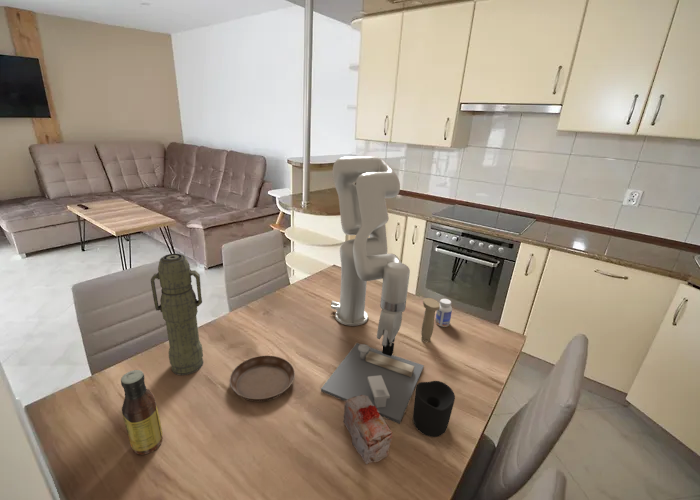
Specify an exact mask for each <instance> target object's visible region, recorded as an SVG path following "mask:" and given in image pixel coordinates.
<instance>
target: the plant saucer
mask: <svg viewBox="0 0 700 500" xmlns="http://www.w3.org/2000/svg"><path fill="white" fill-rule="evenodd" d="M295 374H296V372H295V369H294V366H293V365H292V363H291V362H289V361H288V360H287V359H284V358H282V357H279V356H275V355H259V356H255V357H251V358H248V359H246V360H244V361H243V362H241V363H239V364H238V365H237V366H236V367H235V368H234V369H233V370H232V372H231V374H230V377H229V385H230V388H231V389H232V391H233V392H234V393H235V394H237V396H239V397H240V398H242V399H245V400H247V401H251V402H257V403H259V402H260V403H261V402H267V401H272V400H273V399H276V398H277V397H279V396H281V395H283V393H285V392H286V391H287V390H288V389H289V388H290V386H291V385H292V383H293V382H294V380H295V376H296V375H295Z"/></svg>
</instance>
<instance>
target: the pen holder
mask: <svg viewBox="0 0 700 500" xmlns="http://www.w3.org/2000/svg"><path fill="white" fill-rule="evenodd" d="M414 393H415V394H414V401H413V411H412V423H413V425H414V427H415V428H416V429H417V431H418V432H419V433H421V434H422V435H425V436H427V437H430V438H437V437H441V436H443V435H444V434H445V433H446V432H447V429H448V425H449V423H450V419H451V415H452V411H453V407H454V404H455V400H456V395H455V392H454V390H453V389H452V388H451V387H450V386H449V385H448V384H447V383H445V382H442V381H440V380H433V381H421V382H417V384H416V387H415V390H414Z"/></svg>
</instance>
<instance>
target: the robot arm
mask: <svg viewBox="0 0 700 500" xmlns="http://www.w3.org/2000/svg"><path fill="white" fill-rule="evenodd" d="M332 180H333V184H334V188H335V190H336V193H337V196H338V204H339V215H340V224H341V230H342V232H343V234H345V235H347V236H355V237H354V238H353V239H352V238H351V239H348V240H345V241H344V242H342V243H341V245H340V247H339V256H340V257H339V258H340V266H341V267H340V268H341V269H340V270H341V271H340V272H341V274H340V292H339V293H340V297H339V302H338V301H336V300H331V303H330V305H331V306H330V309H332V310H336V312H335V313H334V314H335V315H334V316H335V320H336V321H337V322H339V323H340V324H342V325H345V326H350V327H356V326H361V325H364V324H365V323H367V321H368V320H369V314H368V312H367V311H366V310H365V307H366V295H367V282H372V281H377V280H378V281H379V280H382V285H381V294H380V295H381V296H380V304H379V305H380V309H381V311H380V314H379V320H378V325H377V332H376V338H377V340H380V339H381V338H382V342H381V346H382V350H381V351H382V353H383V354H386V355H389V356H392V355H394V349H395V341H396V337H397V334H398V333H399V331H400V329H401V325H402V319H403V318H402V317H403V312H405V310H406V305H407V299H408V289H409V284H410V283H409V281H410V275H411V274H410V272H411V271H410V267H409V266H408V265H407V264H406V263H403V262H402V261H401V260H400V258H399V257H398V255H396V254H394V253H388V241H387V227H386V224H387V223H388V222H389V213H388V207H387V201H386V199H393V198H395V197H397V196H398V195H399V193H400V191H401V183H400V178H399V177H398V175H397V173H396V172H395V171H394V170H393V168H391V166H390V165H389V164H388V163H387V162H386V161H385V160H384V159H383V158H381V157H379V156H355V155H351V156H350V155H349V156H348V155H347V156H343V157H340V158H338V159H336V160H335V161H334V163H333V165H332Z"/></svg>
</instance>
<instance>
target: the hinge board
mask: <svg viewBox="0 0 700 500" xmlns="http://www.w3.org/2000/svg"><path fill="white" fill-rule="evenodd" d="M369 351H371V352H374V353H377V354H380V355H383V356H386V357H389V358H392V359H395V360H398V361H401V362H404V363H407V364H409V365H412V366H414V372H413V374H412V376H411V377H409V376H406V375H404V374H401V373H398V372H395V371H392V370H389V369H387V368H384V367H381V366H378V365H375V364H372V363H370V362H367V361H366V356H367V354H368V353H369ZM424 366H425V365H423V364H421V363H418V362H416V361H412V360H409V359H406V358H403V357H400V356H397V355H394V354H392V356H389V355H386V354H383V353H382V350H379V349H377V348H374V347H370V346H369V345H368V344H364V343H363V344H362V343H359V342H357V343H355V345H353V347H352V349H351V350H349V352H348V354H347V355H346V356H345V357H344V358H343V360H342V361H341V362H340V363H339V365H338V366H337V367H336V368H335V370H334V371H333V373H332V374H331V375H330V376H329V378H328V379H327V380H326V381H325V382H324V384H323V386H322V387H321V388H320V392H321V393H324V394H327V395H329V396H331V397H334V398H335V399H338V400H340V401H343V402H345V401H346V400H348V399H349V398H352V397H355V396H360V395H366V396H368V397H369V399H370V401H371V402H372V404H373V405H374V406H376V408H377V410H378V411H379V414H380V415H381V417H382V418H383V419H387V420H389V421H391V422H394V423H396V424H399V425H400V424H401V422H402V419H403V418H404V415H405V412H406V411H407V407H408V405H409V403H410V400H411V398H412V396H413V393H414V392H415V390H416V386H417V384H418V383H419V382H418V381H419V380H420V377H421V375H422V372H423V370H424Z"/></svg>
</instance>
